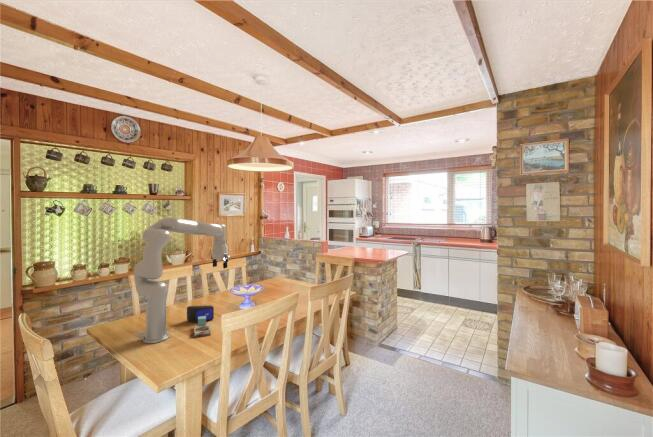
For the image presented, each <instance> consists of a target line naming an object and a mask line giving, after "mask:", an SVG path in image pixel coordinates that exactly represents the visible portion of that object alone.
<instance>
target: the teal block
mask: <svg viewBox="0 0 653 437" xmlns="http://www.w3.org/2000/svg"><path fill="white" fill-rule="evenodd" d="M200 326H207V321H206V316H200V317H198V322H197V327H200Z"/></svg>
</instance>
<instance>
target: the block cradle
mask: <svg viewBox="0 0 653 437" xmlns="http://www.w3.org/2000/svg"><path fill="white" fill-rule="evenodd" d="M192 336H193V338H199V337H206V336H211V327H210V324H208V325H207V324H206V326H200V327H198V326H195V327H194V329H193V335H192Z"/></svg>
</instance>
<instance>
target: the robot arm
mask: <svg viewBox="0 0 653 437" xmlns="http://www.w3.org/2000/svg"><path fill="white" fill-rule="evenodd" d="M226 228H227V227H226V224H223V223H221V224H217V223H210V222H209V223H208V222H205V221H204V222H203V221H199V220H192V219H188V218H180V217H169V216H167V217H163V218H161V219H160V220H157V221H156V222H154V223H153V224H152V225H151V226H149V227H148V228H146V229H145V230H144V231H143V232H142V235H141V238H142V240H143V242H145V243H146V244H145V246H144V247H143V250H142V260H140V261H139V262H137V263H136V265H135V266H134V269H133V277H134V285H135V291H136V293H137V294H138V295H139V296H141V297H143V298H147V302H146V305H145V329H146V330H145V331H143V332H138V333H137V332H136V337H137V338H138V339H140V338H141V339H142V342H143V343H145V344H156V343H161V342H164V341H165V340H167V339H169V338H170V336H171V335H170V333H169V332H168V331H167V296H168V291H169V289H168V285H167V284H166V283H165V282H163V281H161V280H158V279H160V278H161V277H162V276H163V273H164V270H163V269H164V268H163V261H162V250H163V248H164V247H165V245H167V244H168V242H169V241H170V239H171V233H177V234H178V233H179V234H187V235H195V236H201V235H202V236H203V235H204V236H207V237H213V244H212V250H211V253H210V255H209V256H210V259H211V261H212V268H215V267H218V260H221V261H223V262H222V268H223V269H227V268H228V262H229V261H230V258H231V256H230V255H229V254H228V248H227V243H226V242H227V240H226V239H227V237H226V236H227V235H226V234H227V229H226Z"/></svg>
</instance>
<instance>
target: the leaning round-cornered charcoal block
mask: <svg viewBox="0 0 653 437" xmlns="http://www.w3.org/2000/svg"><path fill="white" fill-rule="evenodd" d="M214 310H215V307H214V305H209V304H208V305H189V306H187V307H186V321H187V322H191V323H198V317H200V316H206V322H210V321H213V320H214V318H215V317H214V316H215V315H214V314H215V312H214Z"/></svg>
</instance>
